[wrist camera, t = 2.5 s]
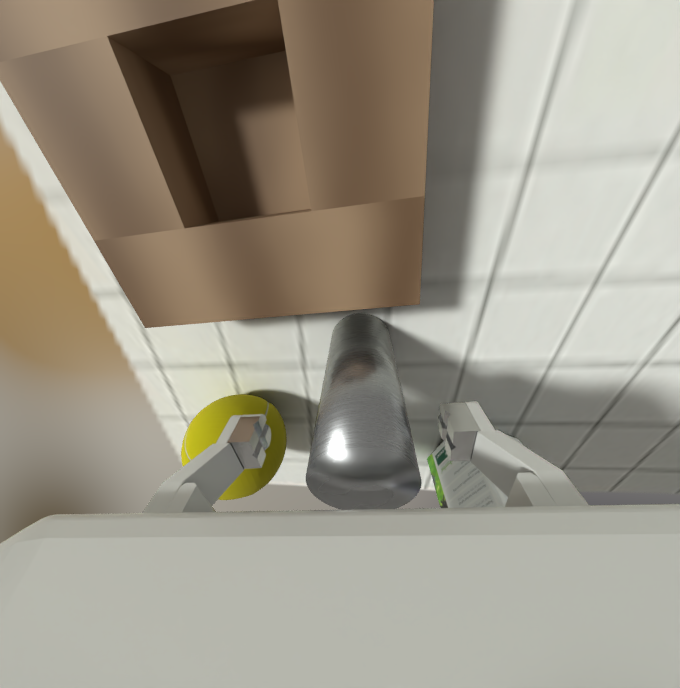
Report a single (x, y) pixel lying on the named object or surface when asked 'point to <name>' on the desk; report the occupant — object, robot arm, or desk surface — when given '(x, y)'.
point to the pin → (362, 423)
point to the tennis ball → (212, 424)
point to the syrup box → (463, 483)
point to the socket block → (235, 146)
